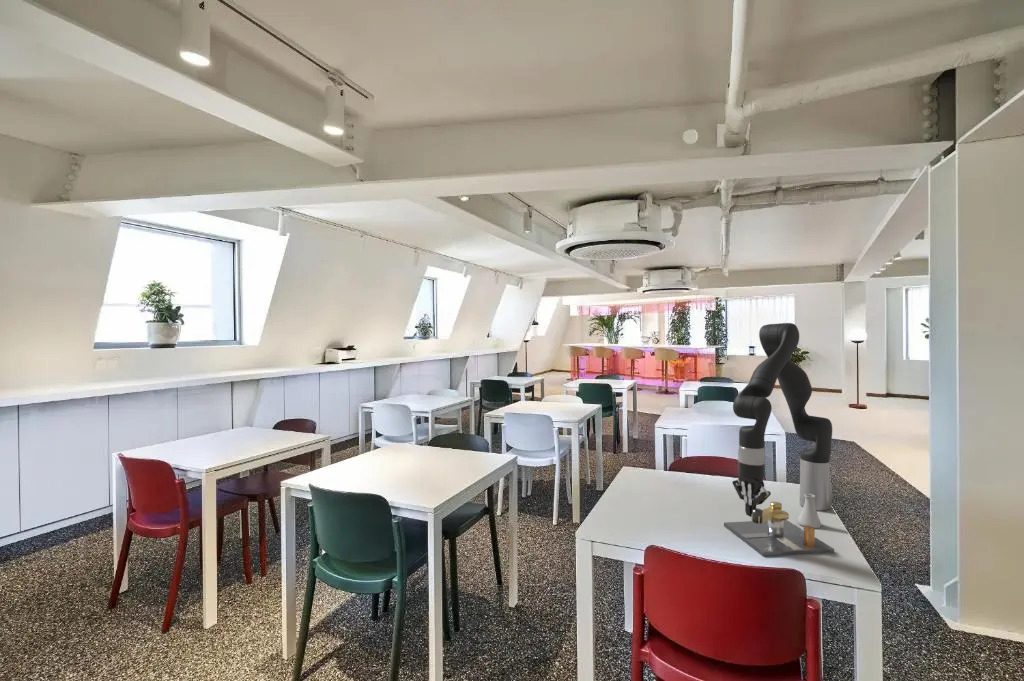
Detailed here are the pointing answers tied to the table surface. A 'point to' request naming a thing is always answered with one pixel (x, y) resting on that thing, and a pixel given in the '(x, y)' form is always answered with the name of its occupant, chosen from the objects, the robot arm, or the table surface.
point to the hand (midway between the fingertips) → (750, 515)
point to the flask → (809, 513)
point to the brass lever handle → (769, 513)
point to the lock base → (778, 538)
